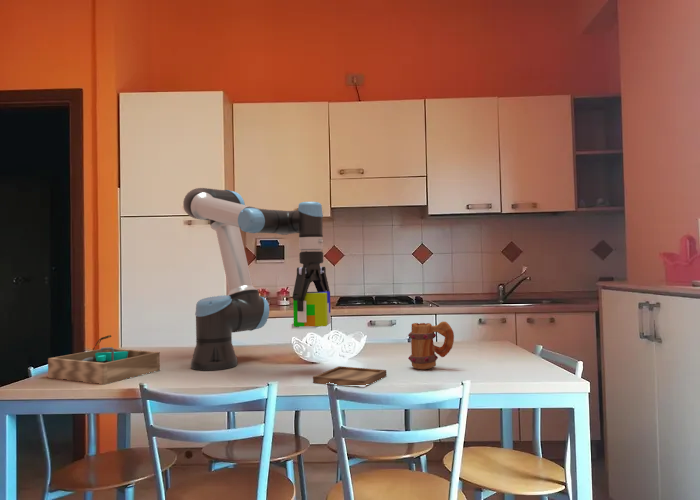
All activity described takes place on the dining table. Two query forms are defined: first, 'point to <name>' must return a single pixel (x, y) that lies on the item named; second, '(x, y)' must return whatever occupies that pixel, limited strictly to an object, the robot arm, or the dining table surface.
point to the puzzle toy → (314, 310)
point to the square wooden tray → (349, 376)
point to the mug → (429, 344)
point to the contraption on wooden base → (107, 354)
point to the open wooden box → (103, 366)
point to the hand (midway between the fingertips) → (312, 320)
